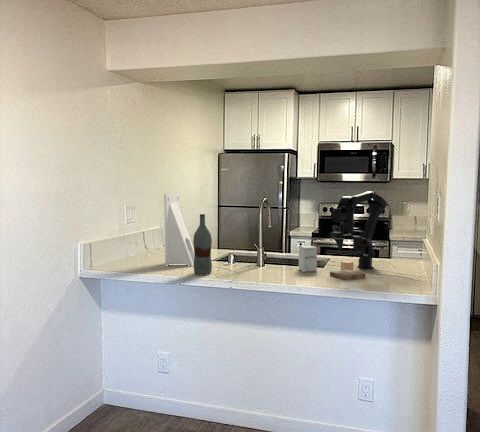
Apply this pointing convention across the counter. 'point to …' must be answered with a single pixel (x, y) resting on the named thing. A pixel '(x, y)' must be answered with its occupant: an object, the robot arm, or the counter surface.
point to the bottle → (202, 248)
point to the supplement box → (308, 258)
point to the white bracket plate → (176, 233)
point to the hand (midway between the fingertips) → (347, 251)
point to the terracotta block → (347, 265)
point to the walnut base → (347, 274)
